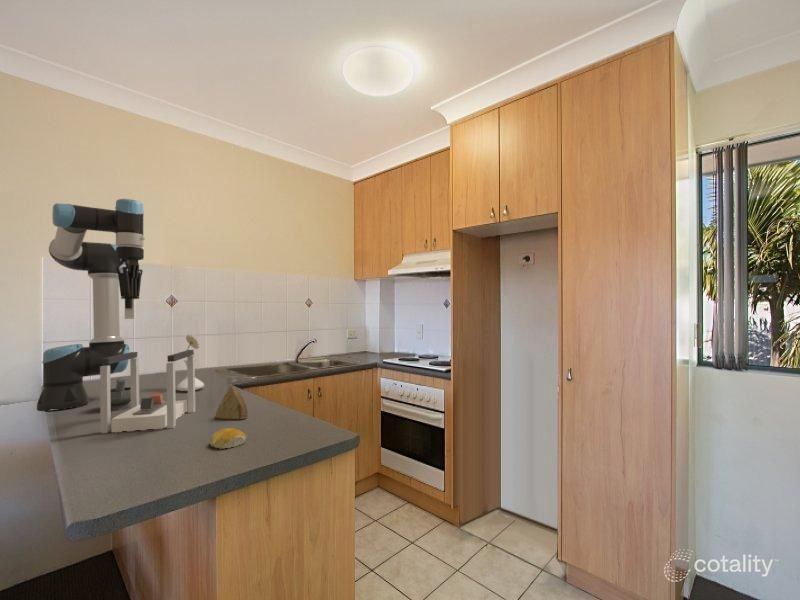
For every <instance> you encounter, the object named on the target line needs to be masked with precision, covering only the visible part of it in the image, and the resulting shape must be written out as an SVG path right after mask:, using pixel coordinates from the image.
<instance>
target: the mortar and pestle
mask: <svg viewBox="0 0 800 600" xmlns="http://www.w3.org/2000/svg"><path fill="white" fill-rule="evenodd" d="M126 380H127V379H126V377H124V376H123V377H118V378H116V380H115V381H116V386H115V388H110V398H111V411H113V410H114V411H120V410H119V409H122V410H125V409H124V408H126V409H128V408H127V407H129V408H130V403H131V386H129V387H128V386H126V385H125V382H126Z"/></svg>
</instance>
